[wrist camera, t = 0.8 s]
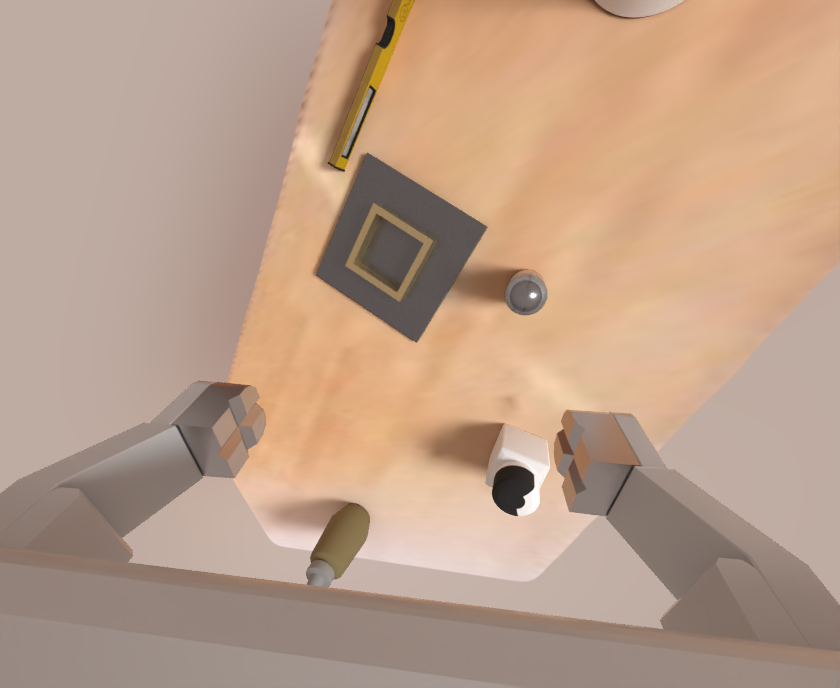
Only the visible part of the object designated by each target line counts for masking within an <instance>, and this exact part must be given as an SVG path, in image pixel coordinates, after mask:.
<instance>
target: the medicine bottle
mask: <svg viewBox="0 0 840 688" xmlns="http://www.w3.org/2000/svg"><path fill="white" fill-rule="evenodd" d="M549 469H550V462H549V452H548V442H547V440H546V439H543V438H541V437H538V436H535V435H533V434H530V433H528V432H525V431H523V430H520V429H518V428H515V427H513V426H510V425H507V424H504V425H503V426H502V429H501V431H500V433H499V436H498V438H497V441H496V443H495V445H494V448H493V450H492V452H491V455H490V458H489V464H488V470H487V475H486V481H485V483H486V485H488V486H491V487H493V489H492V497H493V500H494V502H495V503H496V505H497V506H498V507H499V508H500V509H501V510H503V511H504V512H506V513H508V514H510V515H514V516H525V515H528V514H531V513H532V512H534V511H535V510H536V509H537V507H538V505H539V501H540V498H539V488H540V486H541V484H542V482H543V481H544V479H545V477H546V475H547V473H548V471H549Z"/></svg>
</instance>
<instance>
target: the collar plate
mask: <svg viewBox="0 0 840 688" xmlns="http://www.w3.org/2000/svg"><path fill="white" fill-rule="evenodd" d="M487 228H488V227H487V226H485V225H484V224H482V223H480V222H479V221H477V220H476V219H474V218H472V217H471V216H469V215H468V214H466V213H464V212H463V211H461V210H459V209H458V208H456V207H455V206H453V205H451V204H450V203H448V202H447V201H445V200H443V199H442V198H440V197H439V196H437V195H435V194H434V193H432V192H430V191H429V190H427V189H426V188H424V187H422V186H421V185H419V184H418V183H416V182H414V181H413V180H411V179H409V178H408V177H406V176H405V175H403V174H401V173H400V172H398V171H397V170H395V169H393V168H392V167H390V166H388V165H387V164H385V163H384V162H382V161H380V160H379V159H377V158H376V157H374V156H372V155H371V154H369V153H367V154H366V157H365V159H364V161H363V164H362V166H361V169H360V171H359V173H358V176H357V178H356V181H355V183H354V185H353V188H352V190H351V193H350V195H349V197H348V200H347V202H346V205H345V207H344V209H343V212H342V214H341V217H340V219H339V221H338V224H337V226H336V229H335V231H334V233H333V236H332V238H331V241H330V243H329V245H328V248H327V250H326V252H325V255H324V257H323V260H322V262H321V264H320V267H319V269H318V272H317V274H316V275H317V276H318V277H320V278H321V279H323V280H324V281H326V282H327V283H329V284H330V285H332V286H333V287H335V288H336V289H338V290H339V291H341V292H342V293H344V294H345V295H347V296H348V297H349V298H351V299H352V300H354V301H355V302H357V303H358V304H360V305H361V306H363V307H364V308H366V309H367V310H369V311H370V312H372V313H373V314H375V315H376V316H378V317H379V318H381V319H382V320H384V321H385V322H387V323H388V324H390V325H391V326H393V327H394V328H396V329H397V330H399V331H400V332H401V333H403V334H404V335H406V336H407V337H409V338H410V339H412V340H413V341H415V342H416V343H417V342H418V341H419V339H420V337H421V336H422V334H423V332H424V331H425V329H426V328H427V326H428V324H429V323H430V321H431V319H432V318H433V316H434V314H435V313H436V311H437V310H438V308H439V306H440V305H441V303H442V301H443V300H444V298H445V296H446V295H447V293H448V292H449V290H450V288H451V287H452V285H453V283H454V282H455V280H456V278H457V277H458V275H459V274H460V272H461V270H462V269H463V267H464V265H465V264H466V262H467V260H468V259H469V257H470V256H471V254H472V252H473V251H474V249H475V247H476V246H477V244H478V242H479V241H480V239H481V238H482V236H483V234H484V233H485V231H486V229H487Z"/></svg>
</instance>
